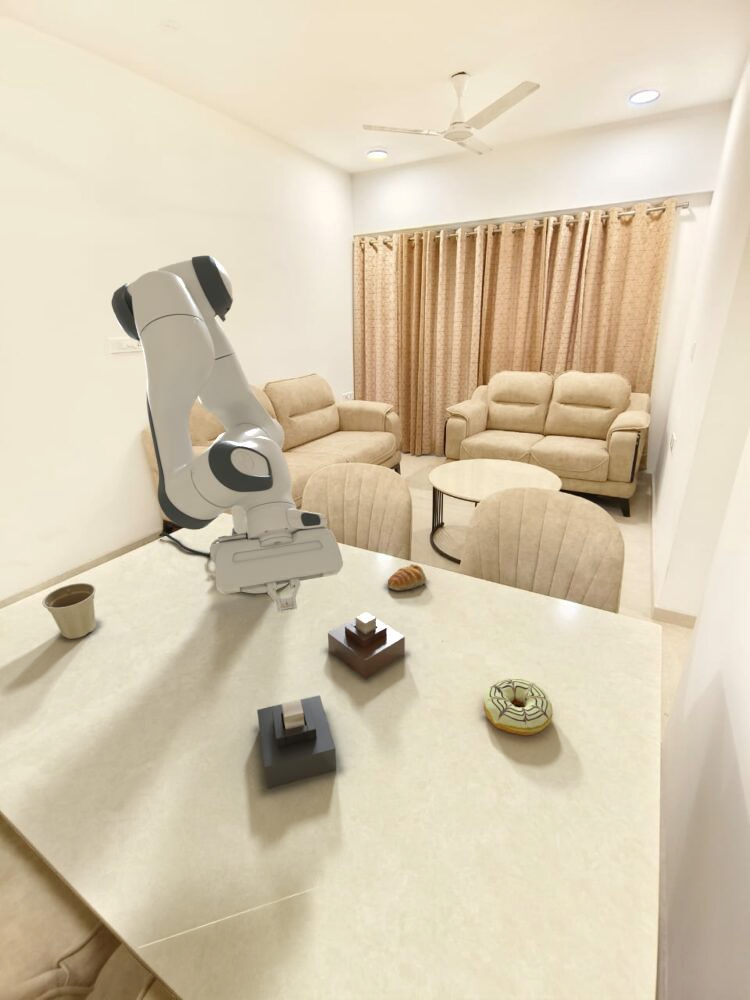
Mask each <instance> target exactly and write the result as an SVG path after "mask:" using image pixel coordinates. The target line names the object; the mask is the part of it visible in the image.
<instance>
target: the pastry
mask: <svg viewBox="0 0 750 1000" xmlns="http://www.w3.org/2000/svg"><path fill="white" fill-rule="evenodd" d="M425 582H427V577H426V574H425V572H424V570H423V568H422V567H421V565H418V564H413V563H411V564H410V565H408V566H403V567H400V568H399V569H398V570H396V571H395V572H394V573H393V574H391V576H390V577H389V578H388V579H387V587H388V588H389V589H391V590H394V591H398V592H400V591H403V592H404V591H405V590H411V589H412V590H413V589H415V588H417V587H421V586H423V585H424V584H425Z"/></svg>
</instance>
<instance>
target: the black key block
mask: <svg viewBox="0 0 750 1000" xmlns="http://www.w3.org/2000/svg"><path fill="white" fill-rule="evenodd" d="M300 700H301V704H302V708H303V713H304V724H305V725H304V726H300V727H296V728H292V729H288V730H285V725H284V719H283V712H282V704H283V703H280V704H275V705H272V706H267V707H264V708H259V709H256V713H257V721H258V728H259V736H260V744H261V752H262V760H263V769H264V778H265V784H266V789H267V790H269V789H273V788H276V787H280V786H283V785H288V784H292V783H295V782H298V781H302V780H305V779H306V780H307V779H309V778H312V777H317V776H321V775H323V774H328V773H331V772H335V771H337V756H336V754H337V752H336V746H335V743H334V739H333V736H332V732H331V729H330V725H329V722H328V718H327V715H326V712H325V711H326V710H325V708H324V705H323V701H322V697H321V695H315V696H311V697H306V698H301V699H300Z"/></svg>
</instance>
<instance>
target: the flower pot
mask: <svg viewBox="0 0 750 1000" xmlns="http://www.w3.org/2000/svg"><path fill="white" fill-rule="evenodd" d="M95 594H96V587H95V585H94V584H91V583H88V582H77V583H71V584H66V585H64V586H61V587H58V588H56V589H54V590H52V591H50V592H49V593H48V594H46V596H44V597H43V599H42V606H43V607H44V608H45V609H47V611H48V612H49V613H50V614H51V616H52V618H53V619H54V621H55V623H56V626H57V627H58V630H59V632H60V633H61V635H62V637H65V638H66V639H69V640H71V639H79V638H83V637H85V636H86V635H87V634H89V633H91V632H93V631H94V630H95V628H96V626H97V623H96V622H97V621H96V612H95V602H94V601H95V600H94V599H95Z"/></svg>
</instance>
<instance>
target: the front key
mask: <svg viewBox="0 0 750 1000" xmlns="http://www.w3.org/2000/svg"><path fill="white" fill-rule="evenodd" d="M281 704H282V712H283V719H284V725H285V730H288V729H292V728H296V727H300V726H304V725H305V724H304V713H303V708H302V704H301V699H296V700H291V701H287V702H283V703H281Z"/></svg>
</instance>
